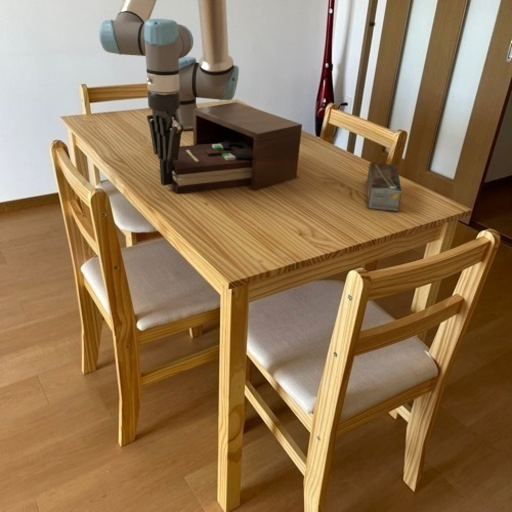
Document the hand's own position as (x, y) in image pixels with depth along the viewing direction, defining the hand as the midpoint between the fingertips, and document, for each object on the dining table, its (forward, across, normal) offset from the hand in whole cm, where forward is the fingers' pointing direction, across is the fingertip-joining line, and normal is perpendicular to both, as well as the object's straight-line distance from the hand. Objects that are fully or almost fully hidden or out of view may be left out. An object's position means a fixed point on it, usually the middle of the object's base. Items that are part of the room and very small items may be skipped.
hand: (166, 183), depth 127 cm
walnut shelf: (+1, 0, +27) cm, 27 cm away
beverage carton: (+2, +37, +45) cm, 58 cm away
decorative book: (+2, 0, +15) cm, 15 cm away
